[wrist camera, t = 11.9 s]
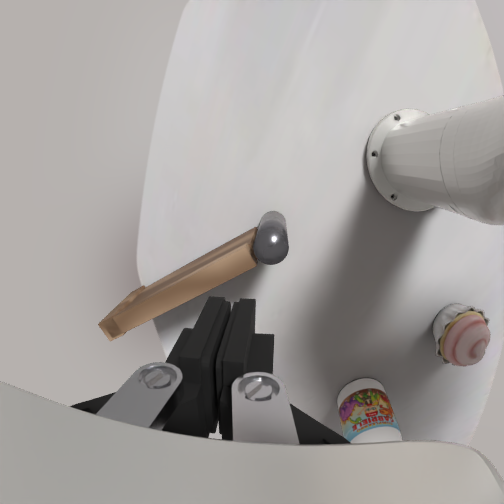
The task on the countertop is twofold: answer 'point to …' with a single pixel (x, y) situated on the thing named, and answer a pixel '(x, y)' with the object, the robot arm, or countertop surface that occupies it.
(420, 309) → the countertop surface
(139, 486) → the robot arm
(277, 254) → the hinge post
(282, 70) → the countertop surface
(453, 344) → the cupcake
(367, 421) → the milk bottle
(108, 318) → the walnut gate
